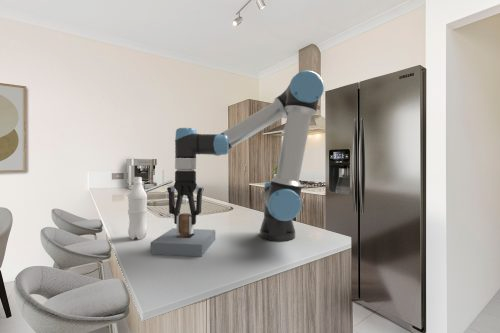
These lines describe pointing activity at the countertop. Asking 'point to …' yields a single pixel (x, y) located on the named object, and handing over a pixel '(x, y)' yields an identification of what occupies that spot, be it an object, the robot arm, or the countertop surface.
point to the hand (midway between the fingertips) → (185, 232)
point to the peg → (184, 225)
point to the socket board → (183, 243)
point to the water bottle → (137, 210)
